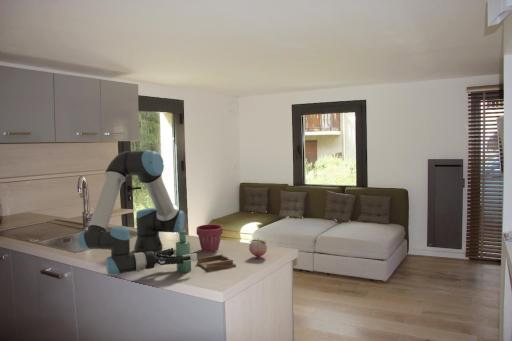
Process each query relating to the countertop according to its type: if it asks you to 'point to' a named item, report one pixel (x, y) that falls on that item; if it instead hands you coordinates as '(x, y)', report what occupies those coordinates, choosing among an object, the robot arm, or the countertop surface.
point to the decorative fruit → (258, 247)
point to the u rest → (215, 262)
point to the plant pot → (209, 237)
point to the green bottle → (183, 252)
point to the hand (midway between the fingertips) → (191, 253)
